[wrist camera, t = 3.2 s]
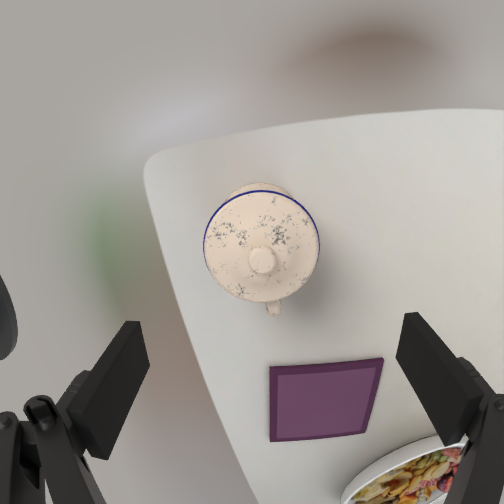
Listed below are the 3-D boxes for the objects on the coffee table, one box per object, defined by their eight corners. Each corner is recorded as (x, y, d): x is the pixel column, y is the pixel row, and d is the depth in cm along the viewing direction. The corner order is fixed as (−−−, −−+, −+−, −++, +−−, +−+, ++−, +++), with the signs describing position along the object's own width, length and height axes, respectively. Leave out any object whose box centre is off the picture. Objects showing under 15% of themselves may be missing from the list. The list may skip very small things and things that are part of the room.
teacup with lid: (207, 190, 32) (182, 210, 21) (296, 173, 31) (318, 184, 20) (232, 297, 36) (222, 359, 24) (313, 282, 35) (336, 340, 24)
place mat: (269, 439, 43) (269, 442, 42) (269, 366, 38) (269, 369, 38) (364, 430, 43) (365, 433, 42) (382, 357, 38) (384, 360, 38)
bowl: (338, 516, 53) (342, 542, 46) (335, 456, 45) (343, 491, 37) (452, 479, 51) (462, 501, 44) (484, 404, 42) (502, 430, 35)
